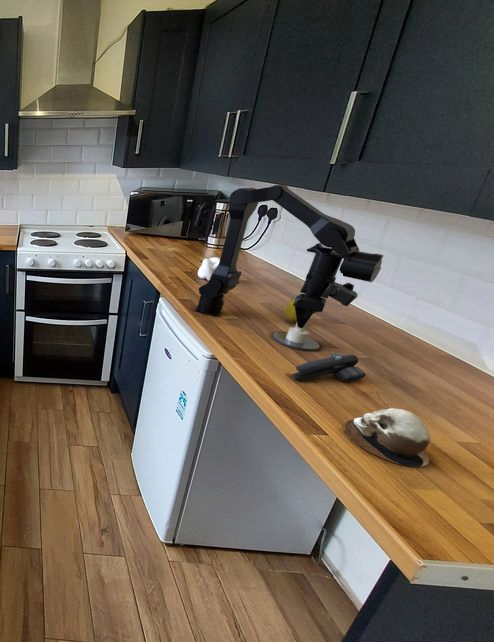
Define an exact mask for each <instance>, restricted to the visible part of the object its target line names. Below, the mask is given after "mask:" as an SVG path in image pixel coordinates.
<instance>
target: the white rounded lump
mask: <svg viewBox="0 0 494 642" xmlns="http://www.w3.org/2000/svg"><path fill="white" fill-rule="evenodd" d="M220 258H221V257H217V256H213V257H210V258H204V259H203V260H202V263H201V265H200V267H199V269H198V271H197V276H198V278H199V279H201V280H205V279H206V280H207V281H208V282H209V280H210V277H211V275H212V273H213V272H214V270H215V269H216V267H217V266H218V265H219V262H220Z"/></svg>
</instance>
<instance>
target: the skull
mask: <svg viewBox="0 0 494 642" xmlns="http://www.w3.org/2000/svg"><path fill="white" fill-rule="evenodd" d="M344 430H345V433H346V434H347V435H348V437H349V438H350V439H351V440H352V441H353V442H355V444H357V445H359V447H361V448H362V449H364V450H366V451H367V452H369V453H370V454H373V455H375V456H377V457H379V458H381V459H384V460H387V461H388V462H392V463H395V464H398V465H400V466H405V467H409V468H410V467H411V468H419V467H425V466H427V465H429V463H430V456H429V454H428V453H427V451H426V449H428V446H429V444H431V443H430V442H431V436H430V432H429V429H428V428H427V426H426V425H425V423H424V422H423V420H421V419H420V417H418V416H417V415H416V414H414V413H413V412H410V411H408V410H405V409H401V408H396V407H395V408H394V407H390V408H387V409H385V408H384V409H380V410H377V411H375V410H374V411H372V412H367V413H364V414H363V415H362V416H361V417H356V418H354V419H350V420H348V421H346V422H345V423H344Z"/></svg>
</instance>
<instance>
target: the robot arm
mask: <svg viewBox="0 0 494 642" xmlns="http://www.w3.org/2000/svg"><path fill="white" fill-rule="evenodd" d="M270 201H273V202H274V203H275V204H277V205H278V206H279V207H282V208H283V209H284V210H285V211H287V212H288V213H289V214H291V215H292V216H293V217H295V218H296V219H297V220H298V221H300V222H301V223H303V224H304V225H306V226H307V228H309V230H310V233H312V235H313V236H314V237H315V239H316V241H318V242H317V243H316V244H314V245H313V246H311V247H309V248H307V249H306V252H308V253H312V254H314V256H313V259H312V262H311V264H310V266H309V269H308V272H307V274H306V276H305V280H304V282H303V286H302V287H301V289H300V294H298V295H296V297H295V299H294V300H295V301H294V304H293V306H295V311H296V318H297V321H296V323H297V325H298V327H299V328H303V327H304V325H305V324H306V323H307V321H308V320H309V321H310V319H311V317H312V316H313V315H314V314H317V313H322V312H323V311H324V308H325V306H326V303H327V300H328V299H329V297H330V298H331V299H333V300H335V301H336V302H339V304H341V305H342V306H344V307H348V306H350V304H351V303H353V301H355V300H356V299H357V298H358V295H359V294H358V293H357V291H355V290H354V288H355V284H353V283H350V282H346V283H344V284H342V283H338V282H336V279H337V277H336V276H337V273H338V271H339V273H340V274H342V277H345V278H351V279H353V280H359V281H363V282H368V283H373V282H374V281H375V280H376V279H377V277H378V275H379V273H380V271H381V269H382V264H383V258H384V255H383V254H380V253H370V252H364V251H360V248H359V245H358V244H357V242H356V239H355V235H356V229H355V227H354V226H353V225H351V224H350V223H348V222H345V221H343V220H341V219H339V218H336V217H333V216H330V215H328V214H326V213H324V212H322V211H321V210H320V209H318V208H316V207H315V206H314V205H312V204H311V203H310V202H308V201H307V200H305V199H304V198H303V197H301V196H300V195H298V194H296V193H295V192H294V191H293V190H291V189H290V188H289V187H288V186H287V185H285V184H275V185H272V186H268V187H262V188H261V187H260V188H256V187H240V188H237V189H235V190H233V191H232V192H231V193H230V194H229V197H228V206H227V207H228V208H227V209H228V214H229V223H228V226H227V231H226V235H225V238H224V242H223V247H222V251H221V254H220V257H219V258H220V262H219V265H218V266H217V267H216V269H215V270H214V272H213V273H212V275H211V277H210V280H209V281H208V282H207V283H205V284H203V285H201V286H199V287H198V294H199V295H200V296H199V300H198V303H197V307H196V308H195V309H194V311H195V312H198V313H201V314H206V315H209V316H212V317H213V316H214V317H217V316H218V315H219V314H220V313H222V311H223V308H224V304H225V302H226V300H225V299H224V298H225V295H226V294H228V293H229V292H230V291H232V290H233V289H235V288H236V287H237V285H239V284H240V277H241V276H242V271H238V269H237V262H238V259H239V255H240V251H241V247H242V244H243V240H244V237H245V233H246V230H247V226H248V223H249V222H248V221H249V220H250V218H251V217H252V215H253V214H254V212H255V211H256V209H257V207H258V205H259V203H264V202H270ZM309 321H308V322H309Z"/></svg>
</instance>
